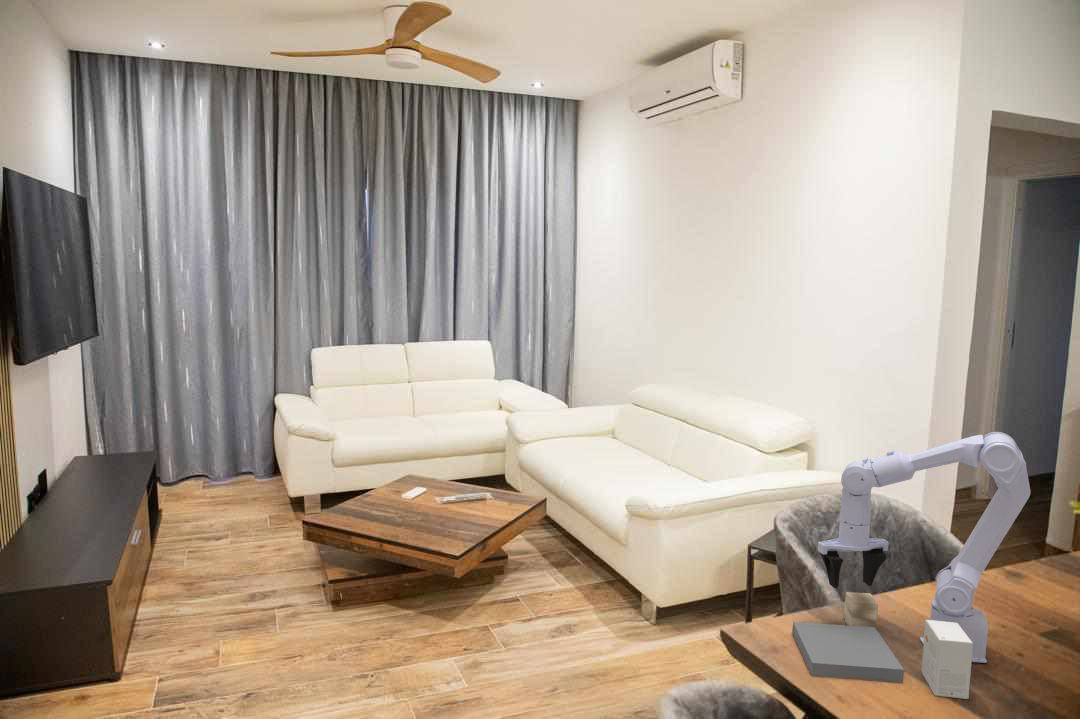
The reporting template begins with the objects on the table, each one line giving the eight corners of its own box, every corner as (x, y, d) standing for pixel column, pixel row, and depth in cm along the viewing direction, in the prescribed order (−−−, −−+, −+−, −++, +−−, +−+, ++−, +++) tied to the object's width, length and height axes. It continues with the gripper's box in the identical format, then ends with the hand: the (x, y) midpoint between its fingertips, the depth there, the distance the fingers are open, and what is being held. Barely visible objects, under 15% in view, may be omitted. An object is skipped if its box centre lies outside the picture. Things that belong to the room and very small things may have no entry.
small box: (968, 700, 130) (974, 643, 128) (933, 696, 131) (939, 639, 130) (953, 676, 138) (958, 621, 136) (920, 672, 139) (925, 618, 137)
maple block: (868, 620, 159) (870, 593, 158) (875, 631, 154) (878, 603, 153) (843, 618, 160) (845, 591, 159) (850, 629, 155) (852, 602, 154)
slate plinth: (873, 639, 151) (874, 627, 150) (903, 682, 135) (904, 669, 135) (792, 633, 152) (793, 621, 152) (811, 675, 137) (812, 662, 136)
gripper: (875, 513, 157) (871, 575, 159) (811, 516, 155) (807, 578, 157) (896, 524, 150) (891, 589, 152) (830, 527, 148) (825, 593, 150)
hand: (850, 584), depth 154 cm, fingers open, 7 cm apart
